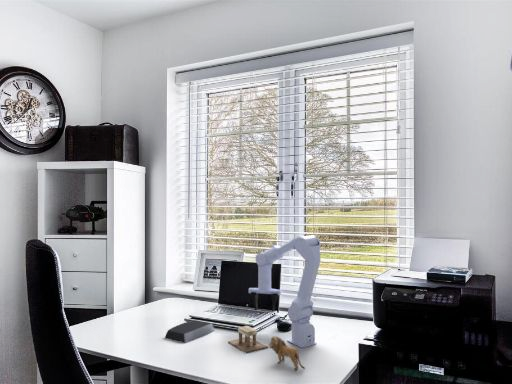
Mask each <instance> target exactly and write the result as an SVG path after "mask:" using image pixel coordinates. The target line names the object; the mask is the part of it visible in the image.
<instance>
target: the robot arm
mask: <svg viewBox="0 0 512 384" xmlns="http://www.w3.org/2000/svg"><path fill="white" fill-rule="evenodd" d="M321 247H322V243H321V241H320V240H319V238H318V236H316V235H314V234H311V235H303V236H297V237H294V238H292V239H291V240H289V241H287V242H286V243H284V244H282V245H281V246H280V245H276V244H274V245H272V246H271V247H270V248H269V249H265V250H264V251H263V252H258V253H257V254H256V255H255V263H256V264H257V268H258V269H257V270H258V274H257V275H258V276H257V278H258V280H257V281H258V284H257V287H249V288H248V294H250V298H251V300H252V302H253V306H254V310H255V311H257V310H258V308H259V306H258V305H259V302H258V299H259V294H263V295H271V297H270V298H271V312H274V311H275V308H276V303H277V300H278V299H279V296H281V294H282V289H276V288H272V268H273V263H274V262H276V261H278V260H281V259H282V258H283V257H284V256H285V255H284V254H286V253H288V252H291V251H293V250H295V251H296V252H297V253H298V254H299V255H300V256H301V257H302V258H303V260H304V261H305V262H304V263H305V265H304V269H303V273H302V277H301V280H300V283H299V284H300V285H299V287H298V292H297V295H296V297H295V298H294V300H293V301H292V302H291V305H290V307H288V310H287V315H288V316H287V317H288V318H289V320H290V322H291V338H289V339H287V342H289V343H291V344H293V345H295V346H297V347H299V348H306V347H309V346H313V345H317V342H316V339H315V338H316V335H315V334H316V330H315V326H314V325H313V324H312V323H311V322H310V320H311V317H312V316H313V314H314V309H313V307H314V302H313V300H311V298H312V295H313V290H314V287H315V283H316V280H317V276H318V272H319V267H320V265H321V264H320V263H321V260H322V259H321Z"/></svg>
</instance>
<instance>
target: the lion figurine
mask: <svg viewBox="0 0 512 384" xmlns="http://www.w3.org/2000/svg"><path fill="white" fill-rule="evenodd" d="M268 347H269V349H272V351H274V353H275V354H276V355H277V356H278V357H277V358H278V361H277V364H278V365H281V364H282V362H285V358H290V360H291V362H292V363H293V366H294V368H293V369H294V371H298V369H299V366H300V367H301V369H303V370H305V369H306V367H305V366H303V364H302V363H301V360H300V357H299V350H298V349H297V348H296V347H293V346H292V347H291V346H287V344H286V343H285V342H284V340H283V339H282V338H280V337H279V336H272V337H271V338H270V342H269V343H268ZM298 365H299V366H298Z"/></svg>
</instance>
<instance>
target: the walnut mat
mask: <svg viewBox="0 0 512 384" xmlns="http://www.w3.org/2000/svg"><path fill="white" fill-rule="evenodd" d="M227 343H228V344H229V345H231V344H232V346H233V347H235V348H237V349H238V348H239V350H240V351H242V352H243V353H245V352H246V354H248V353H252V352H253V353H254V352H257V350H258V351H261V349H262V350H265V348H266V349H268V348H269V345H265V343H262V342H259V340H256V345H255V346H253V337H250V347H246V341H245V337H242V343H239V338H237V339H233V340H228V342H227Z"/></svg>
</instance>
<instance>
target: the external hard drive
mask: <svg viewBox="0 0 512 384" xmlns="http://www.w3.org/2000/svg"><path fill="white" fill-rule="evenodd" d="M213 332H215V327H214V325H213V323H210V322H209V323H208V322H205V321H198V320H190V321H187V322H184V323H180V324H178V325H175V326H173V327H171V328H169V329H168V330H167V332H166V333H165V336H164V339H168V340H171V341H174V342H175V341H176V342H179V343H183V344H186V343H187V344H188V343H190V342H193V341H196V340H198V339H200V338H203V337H206V336H208V335H209V334H211V333H213Z"/></svg>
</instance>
